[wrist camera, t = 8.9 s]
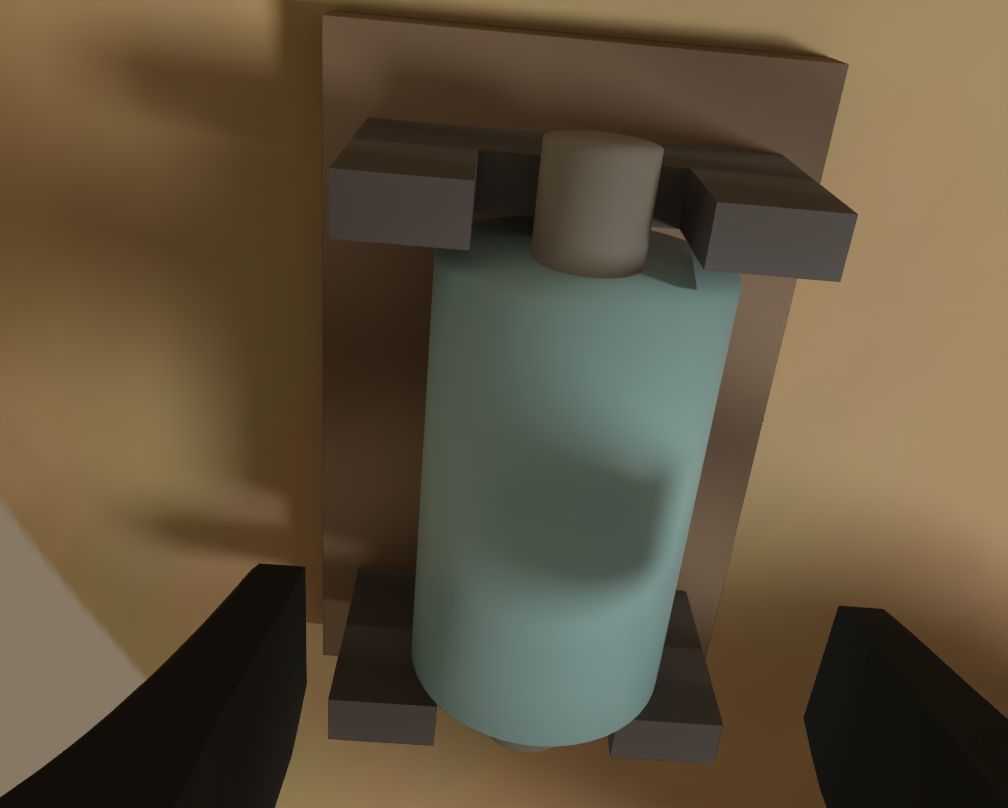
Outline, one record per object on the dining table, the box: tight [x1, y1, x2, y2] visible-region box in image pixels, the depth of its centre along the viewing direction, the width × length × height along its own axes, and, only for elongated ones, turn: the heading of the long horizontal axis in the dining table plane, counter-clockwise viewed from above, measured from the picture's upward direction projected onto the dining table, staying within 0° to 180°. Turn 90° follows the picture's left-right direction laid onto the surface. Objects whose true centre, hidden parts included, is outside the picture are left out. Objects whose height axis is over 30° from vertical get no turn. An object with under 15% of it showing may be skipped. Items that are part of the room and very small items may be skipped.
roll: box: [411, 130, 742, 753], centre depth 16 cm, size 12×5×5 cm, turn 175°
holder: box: [322, 11, 858, 764], centre depth 17 cm, size 14×9×5 cm, turn 175°
